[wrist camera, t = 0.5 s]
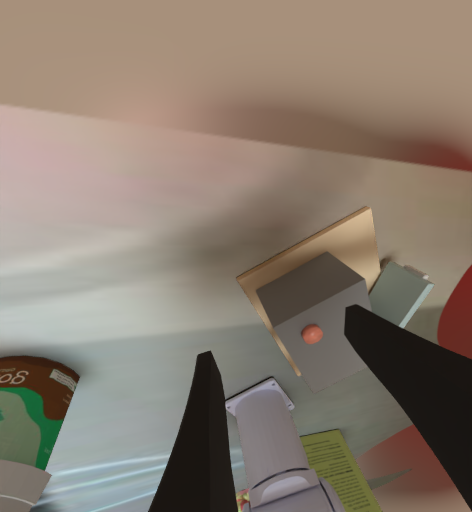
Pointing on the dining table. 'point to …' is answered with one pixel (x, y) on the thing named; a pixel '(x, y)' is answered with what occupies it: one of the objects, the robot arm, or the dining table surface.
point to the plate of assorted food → (242, 499)
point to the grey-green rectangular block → (399, 293)
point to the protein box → (339, 470)
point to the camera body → (316, 318)
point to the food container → (30, 425)
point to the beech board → (330, 239)
